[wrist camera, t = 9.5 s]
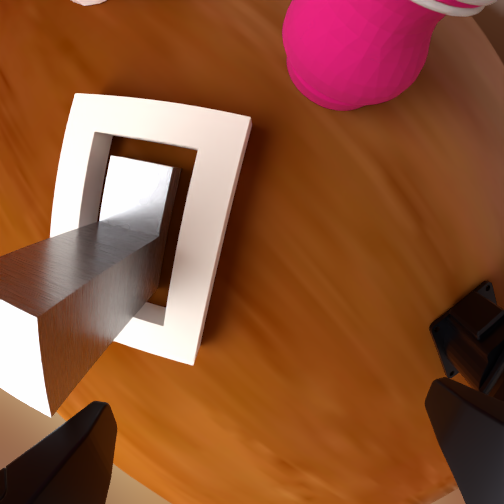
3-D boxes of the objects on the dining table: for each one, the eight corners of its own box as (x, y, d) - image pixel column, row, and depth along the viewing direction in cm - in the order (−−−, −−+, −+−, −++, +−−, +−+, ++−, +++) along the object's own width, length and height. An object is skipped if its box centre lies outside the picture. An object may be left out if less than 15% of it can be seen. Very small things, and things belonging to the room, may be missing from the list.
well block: (252, 124, 18) (250, 117, 15) (200, 345, 21) (193, 365, 19) (94, 100, 17) (75, 93, 15) (66, 302, 21) (49, 315, 18)
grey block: (181, 168, 18) (45, 162, 6) (158, 288, 20) (51, 417, 8) (124, 156, 18) (-39, 149, 6) (106, 272, 20) (-25, 370, 7)
